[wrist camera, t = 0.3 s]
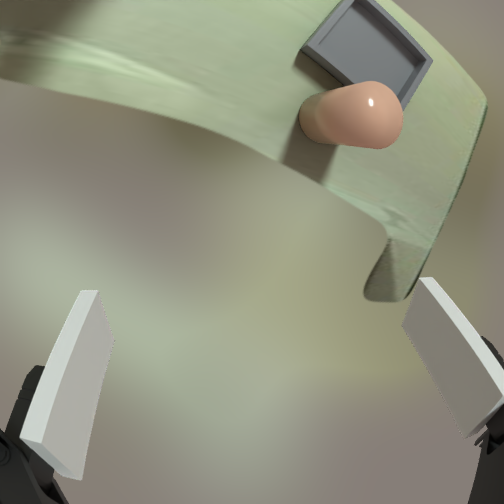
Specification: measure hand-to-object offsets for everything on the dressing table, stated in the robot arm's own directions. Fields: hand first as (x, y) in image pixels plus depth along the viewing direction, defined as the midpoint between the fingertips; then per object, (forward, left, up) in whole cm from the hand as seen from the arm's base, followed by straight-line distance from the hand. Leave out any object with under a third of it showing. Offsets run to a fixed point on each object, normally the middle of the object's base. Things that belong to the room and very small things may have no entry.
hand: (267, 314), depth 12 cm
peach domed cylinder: (-7, +15, -27) cm, 32 cm away
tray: (-15, +24, -27) cm, 39 cm away
